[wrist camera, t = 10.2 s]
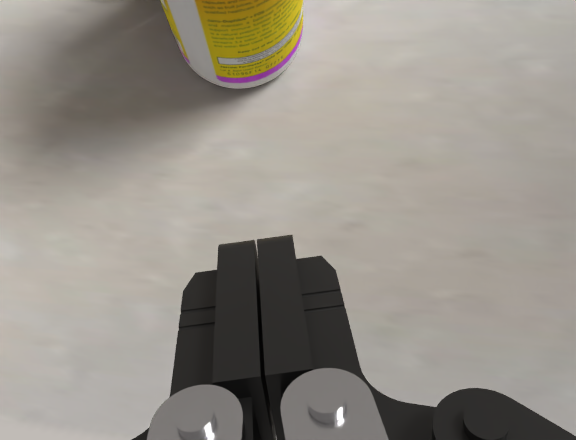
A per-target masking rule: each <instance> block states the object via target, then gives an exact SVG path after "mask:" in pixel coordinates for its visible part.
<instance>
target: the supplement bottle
mask: <svg viewBox="0 0 576 440" xmlns="http://www.w3.org/2000/svg"><path fill="white" fill-rule="evenodd" d="M160 2H161V4H162V7H163V9H164V12H165V14H166V17H167V19H168V22H169V25H170V27H171V30H172V32H173V35H174V37H175V40H176V42H177V45H178V47H179V49H180V51H181V53H182V55H183V57H184V59H185V61H186V62H187V63H188V65H189V66H190V67H191V68H192V69H193V70H194V71H195V72H196V73H197V74H198V75H199V76H201V77H202V78H204V79H205V80H207V81H209V82H211V83H213V84H216V85H219V86H222V87H227V88H236V89H240V88H250V87H255V86H259V85H262V84H264V83H267V82H269V81H270V80H272V79H274V78H275V77H277V76H278V75H280V74H281V73H282V72H283V71H284V70H285V69H286V68H287V67H288V66H289V65H290V63H291V62H292V61H293V59H294V57H295V56H296V54H297V52H298V49H299V47H300V43H301V39H302V32H303V0H160Z"/></svg>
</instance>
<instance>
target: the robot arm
mask: <svg viewBox="0 0 576 440" xmlns="http://www.w3.org/2000/svg"><path fill="white" fill-rule="evenodd" d="M257 248H258V256H257V250H256V244H255V241H254V240H251V241H243V242H236V243H228V244H221V245H219V247H218V265H217V270H213V271H205V272H198V273H195V275H194V276H193V277H192V279H191V280H190V282H189V283H188V285H187V286H186V288H185V289H184V291H183V297H182V305H181V315H180V321H179V331H178V337H177V345H176V353H175V361H174V369H173V377H172V385H171V393H170V397H169V398H168V399H167V400H166V401H165V402H164V403H163V404H162V405H161V406H160V407H159V409H158V410H157V411H156V413H155V415H154V417H153V418H152V421H151V424H150V428H148V429H147V430H146V431H145V432H143V433H142V434H140V435H139V436H137V437H136V438H134V439H132V440H276V437H277V440H576V436H574V435H573V434H571V433H569V432H567V431H566V430H564V429H562V428H561V427H559V426H557V425H556V424H554V423H552V422H550V421H549V420H547V419H545V418H544V417H542V416H540V415H539V414H537V413H535V412H534V411H532V410H530V409H528V408H527V407H525V406H523V405H522V404H520V403H518V402H517V401H515V400H513V399H511V398H510V397H508V396H506V395H504V394H501V393H498V392H496V391H492V390H488V389H481V388H468V389H462V390H459V391H456V392H453V393H451V394H449V395H448V396H446V397H445V398H444V399H443V400H441V402H440V403H439V404H438V406H437V407H430V406H424V405H417V404H410V403H405V402H400V401H397V400H394V399H391V398H389V397H387V396H385V395H383V394H382V393H380V392H379V391H377V390H376V389H375V388H374V387H373V386H371V385H370V383H369V382H368V381H367V380H366V378H365V377H364V375H363V373H362V371H361V368H360V365H359V361H358V357H357V353H356V349H355V345H354V341H353V337H352V333H351V329H350V325H349V321H348V317H347V313H346V309H345V307H344V301H343V297H342V294H341V290H340V286H339V282H338V278H337V274H336V270H335V269H334V268H333V267H332V266H331V265H330V264H329V263H328V262H327V261H326V260H325V259H324V258H323V257H322V256H316V257H309V258H301V259H296V256H295V249H294V243H293V237H292V235H287V236H280V237H272V238H265V239H257Z"/></svg>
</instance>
